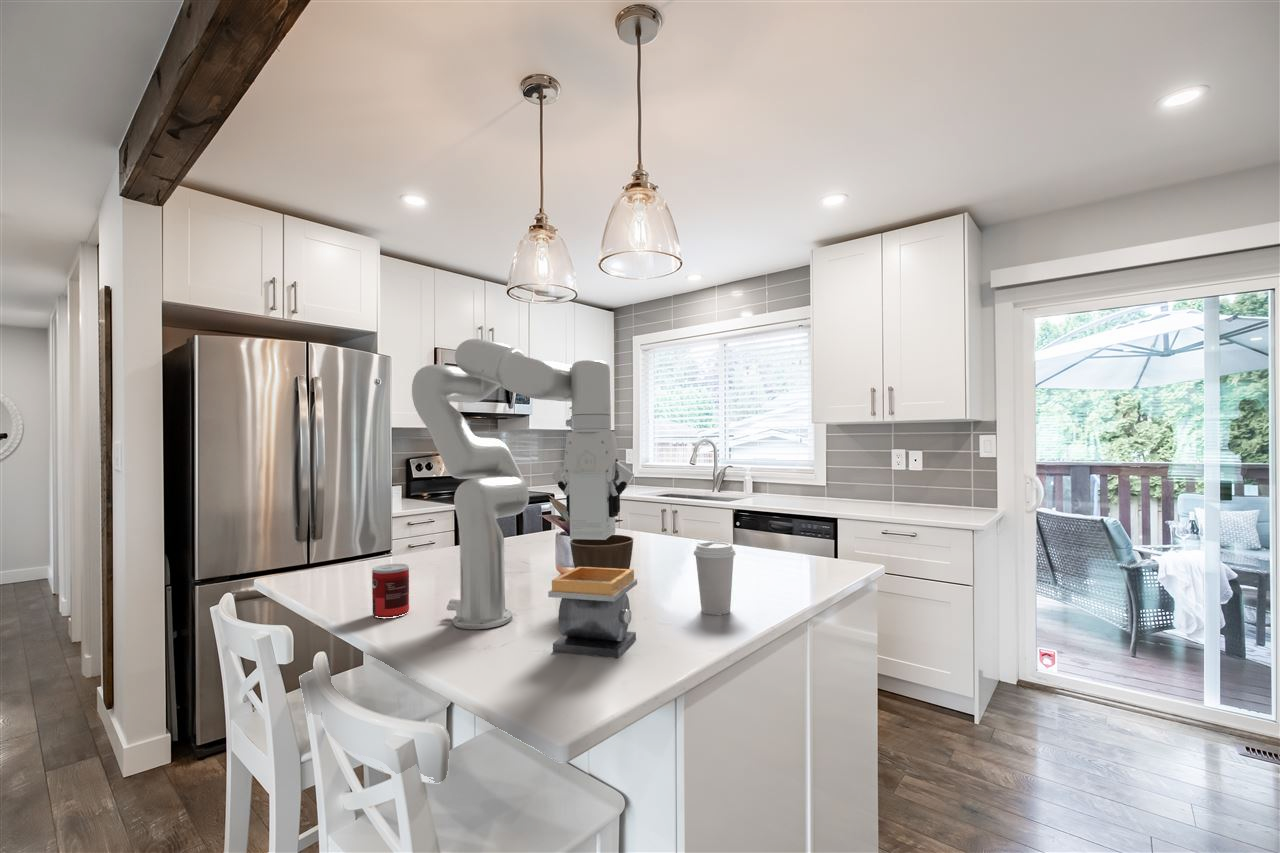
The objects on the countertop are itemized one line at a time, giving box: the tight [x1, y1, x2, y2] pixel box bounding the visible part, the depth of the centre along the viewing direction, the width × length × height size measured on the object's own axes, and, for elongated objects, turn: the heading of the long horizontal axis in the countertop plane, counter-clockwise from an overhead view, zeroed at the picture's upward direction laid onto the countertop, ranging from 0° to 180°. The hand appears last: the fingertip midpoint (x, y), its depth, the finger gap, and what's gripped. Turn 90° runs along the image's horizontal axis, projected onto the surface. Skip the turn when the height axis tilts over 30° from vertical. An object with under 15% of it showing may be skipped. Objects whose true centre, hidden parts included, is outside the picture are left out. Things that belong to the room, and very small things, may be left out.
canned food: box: [371, 563, 410, 617], centre depth 134 cm, size 8×8×11 cm
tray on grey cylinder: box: [547, 567, 638, 659], centre depth 111 cm, size 14×13×14 cm
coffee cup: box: [693, 541, 736, 616], centre depth 132 cm, size 10×10×15 cm
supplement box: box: [569, 472, 616, 540], centre depth 111 cm, size 7×7×13 cm
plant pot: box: [569, 534, 634, 569], centre depth 136 cm, size 15×15×16 cm
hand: (593, 515), depth 111 cm, fingers closed on supplement box, 7 cm apart
